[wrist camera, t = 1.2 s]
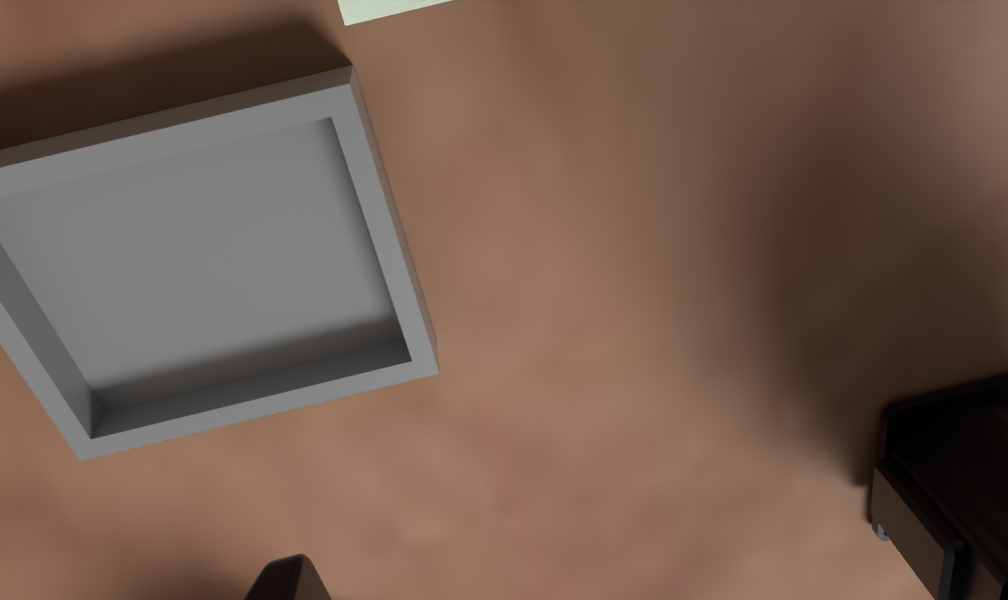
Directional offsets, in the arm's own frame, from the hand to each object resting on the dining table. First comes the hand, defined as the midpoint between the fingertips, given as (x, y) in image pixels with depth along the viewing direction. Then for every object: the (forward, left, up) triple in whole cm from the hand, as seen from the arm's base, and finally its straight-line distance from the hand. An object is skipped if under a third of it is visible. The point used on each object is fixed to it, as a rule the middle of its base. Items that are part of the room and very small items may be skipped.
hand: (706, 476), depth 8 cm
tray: (+9, +1, -13) cm, 15 cm away
